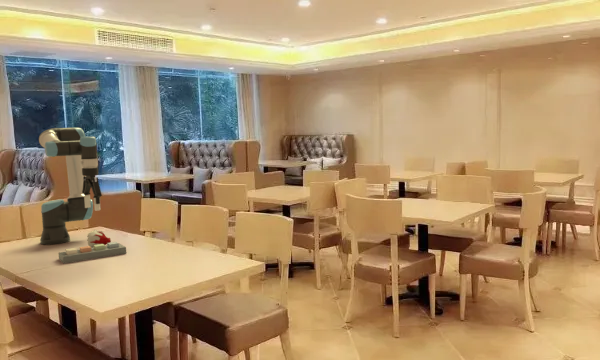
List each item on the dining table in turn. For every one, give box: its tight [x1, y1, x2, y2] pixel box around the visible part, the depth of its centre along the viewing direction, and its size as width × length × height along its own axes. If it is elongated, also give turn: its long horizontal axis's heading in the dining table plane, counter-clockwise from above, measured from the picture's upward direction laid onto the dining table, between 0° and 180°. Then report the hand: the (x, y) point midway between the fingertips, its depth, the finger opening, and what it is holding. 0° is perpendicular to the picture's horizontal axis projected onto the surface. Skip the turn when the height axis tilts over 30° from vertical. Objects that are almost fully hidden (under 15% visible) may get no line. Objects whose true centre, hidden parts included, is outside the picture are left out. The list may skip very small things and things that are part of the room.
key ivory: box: [64, 247, 78, 255], centre depth 244 cm, size 4×4×3 cm
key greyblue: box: [106, 241, 119, 248], centre depth 255 cm, size 4×4×3 cm
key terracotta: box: [79, 245, 92, 253], centre depth 247 cm, size 4×4×3 cm
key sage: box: [94, 244, 106, 251], centre depth 251 cm, size 4×4×3 cm
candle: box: [87, 229, 112, 248], centre depth 269 cm, size 9×11×15 cm
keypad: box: [58, 242, 127, 264], centre depth 249 cm, size 11×29×3 cm, turn 126°
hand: (92, 209), depth 258 cm, fingers open, 13 cm apart
